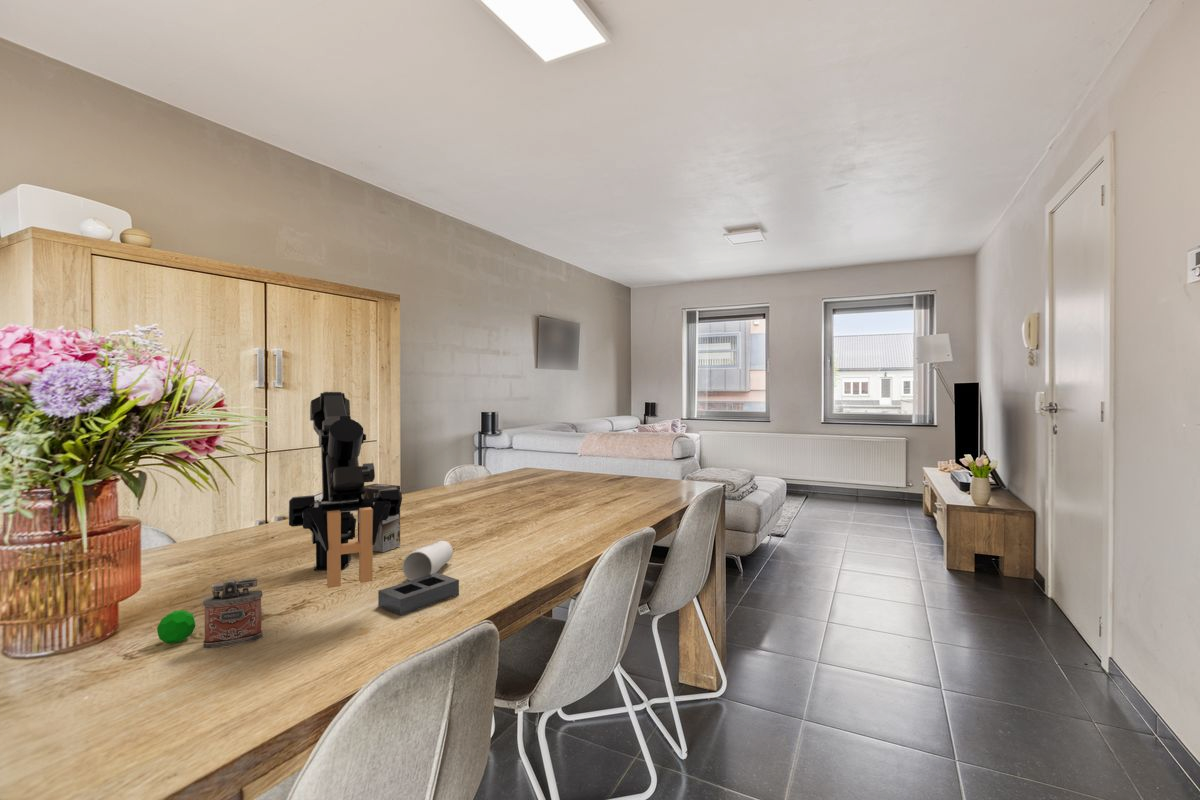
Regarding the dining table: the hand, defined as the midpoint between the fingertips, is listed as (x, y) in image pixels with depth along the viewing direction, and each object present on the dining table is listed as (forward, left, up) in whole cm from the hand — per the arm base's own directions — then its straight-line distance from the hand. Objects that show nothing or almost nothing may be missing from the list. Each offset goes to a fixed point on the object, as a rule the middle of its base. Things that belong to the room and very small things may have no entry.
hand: (350, 546), depth 97 cm
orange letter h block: (0, +1, -7) cm, 7 cm away
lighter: (-17, -4, -14) cm, 22 cm away
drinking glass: (+14, +32, -11) cm, 37 cm away
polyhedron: (-26, -2, -14) cm, 29 cm away
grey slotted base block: (+11, +8, -13) cm, 19 cm away
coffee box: (-3, +48, -14) cm, 50 cm away
